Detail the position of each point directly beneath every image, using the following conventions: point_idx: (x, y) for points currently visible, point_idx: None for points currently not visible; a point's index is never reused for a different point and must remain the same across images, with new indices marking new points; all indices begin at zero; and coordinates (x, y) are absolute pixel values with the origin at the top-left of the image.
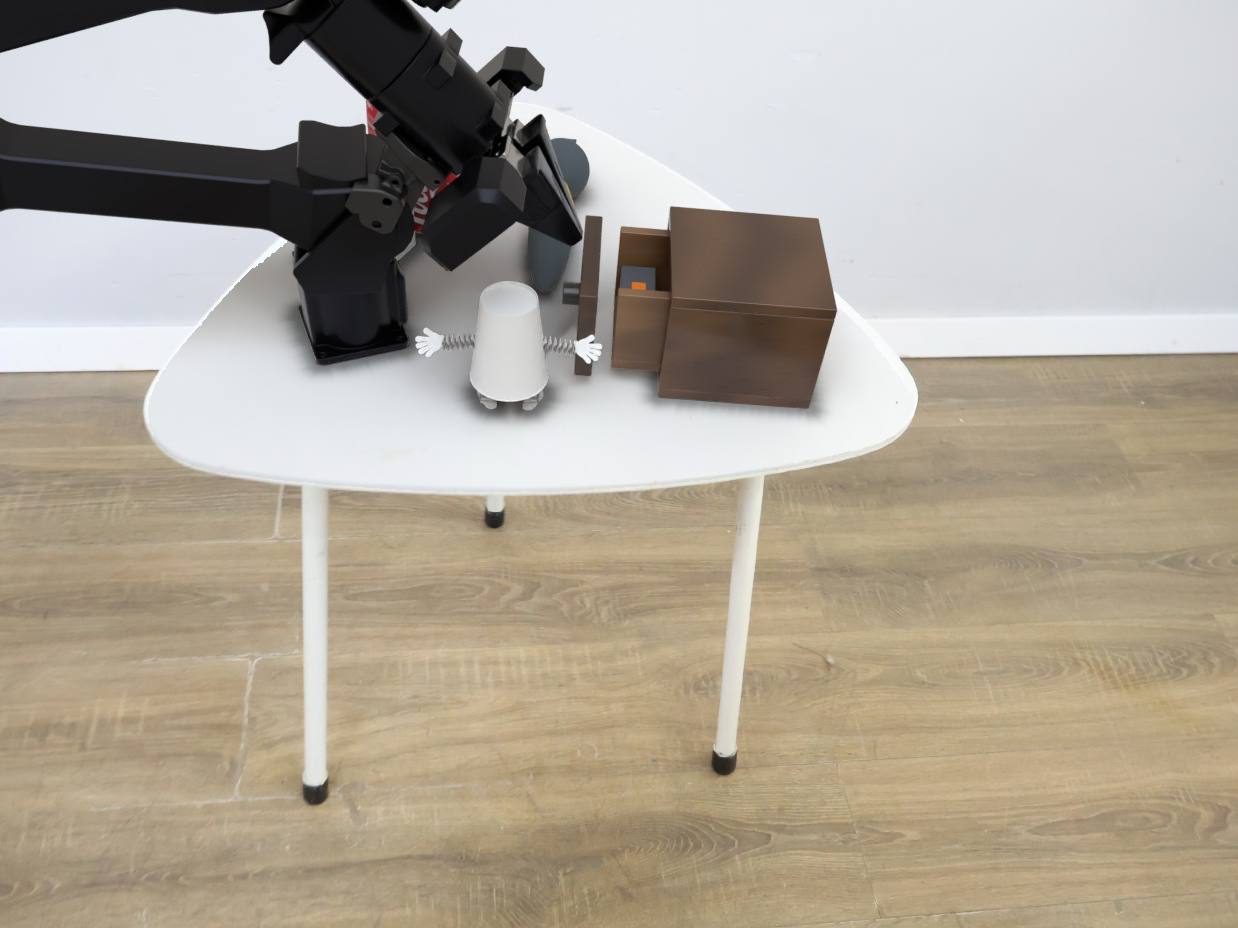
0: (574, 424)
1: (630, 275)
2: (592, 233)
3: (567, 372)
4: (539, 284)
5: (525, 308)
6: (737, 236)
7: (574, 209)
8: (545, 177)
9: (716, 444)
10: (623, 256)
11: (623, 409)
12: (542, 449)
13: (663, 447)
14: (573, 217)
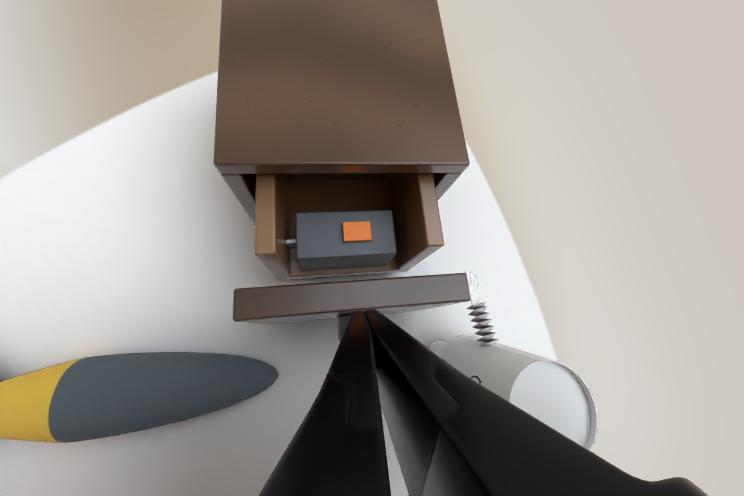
0: (468, 302)
1: (320, 245)
2: (296, 300)
3: (397, 320)
4: (271, 382)
5: (552, 378)
6: (296, 70)
7: (349, 332)
8: (561, 435)
9: (457, 179)
10: (282, 256)
11: (436, 258)
12: (506, 327)
13: (473, 221)
14: (386, 329)
